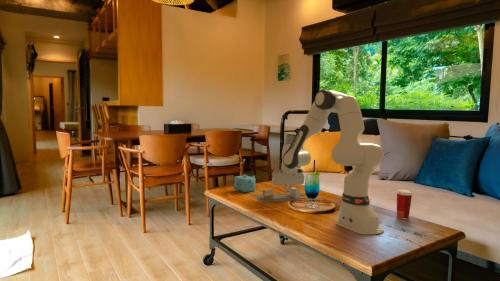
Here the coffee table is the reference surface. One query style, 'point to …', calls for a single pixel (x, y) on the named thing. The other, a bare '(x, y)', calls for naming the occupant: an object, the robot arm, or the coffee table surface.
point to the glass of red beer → (403, 203)
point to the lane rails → (286, 200)
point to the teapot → (244, 183)
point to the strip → (283, 196)
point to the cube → (268, 193)
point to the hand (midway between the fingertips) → (287, 191)
